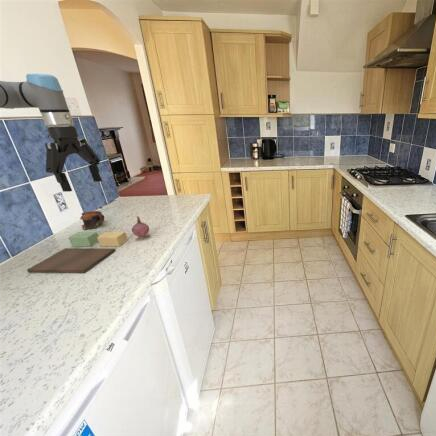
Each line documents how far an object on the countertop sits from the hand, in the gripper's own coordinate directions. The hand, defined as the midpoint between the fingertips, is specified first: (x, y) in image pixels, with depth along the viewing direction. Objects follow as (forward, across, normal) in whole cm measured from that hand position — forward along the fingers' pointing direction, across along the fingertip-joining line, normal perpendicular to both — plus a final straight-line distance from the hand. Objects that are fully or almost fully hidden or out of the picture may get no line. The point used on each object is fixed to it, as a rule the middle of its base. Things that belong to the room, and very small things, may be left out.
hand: (83, 186), depth 92 cm
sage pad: (+23, -3, +6) cm, 24 cm away
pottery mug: (+24, +14, +16) cm, 32 cm away
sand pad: (+23, -3, -6) cm, 24 cm away
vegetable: (+24, +2, -15) cm, 28 cm away
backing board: (+23, -16, -1) cm, 28 cm away
